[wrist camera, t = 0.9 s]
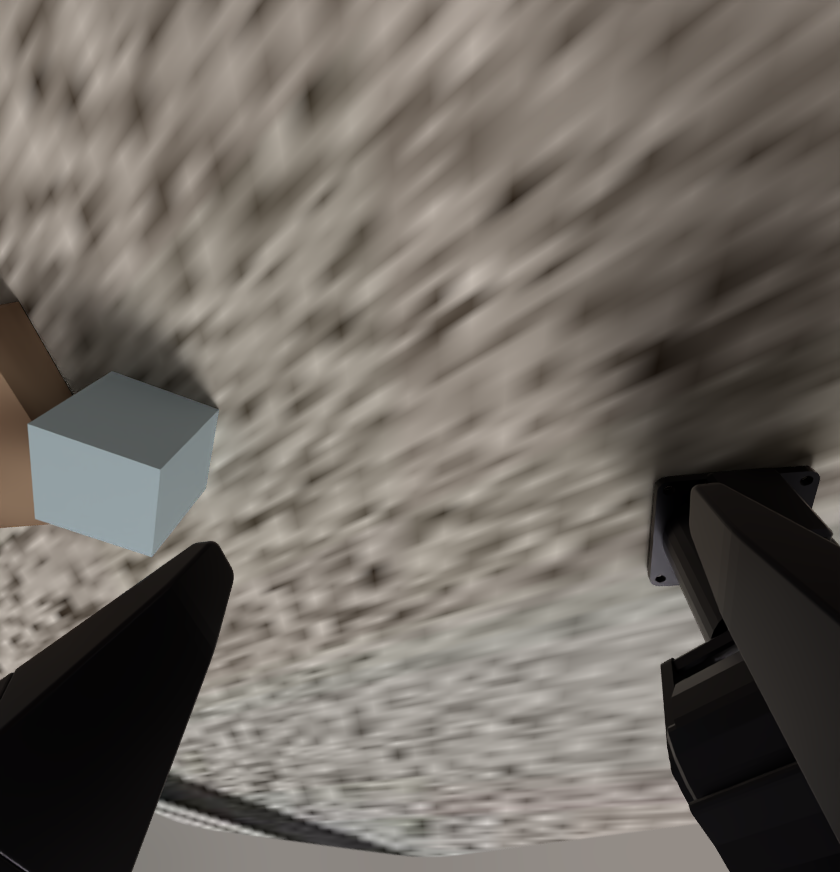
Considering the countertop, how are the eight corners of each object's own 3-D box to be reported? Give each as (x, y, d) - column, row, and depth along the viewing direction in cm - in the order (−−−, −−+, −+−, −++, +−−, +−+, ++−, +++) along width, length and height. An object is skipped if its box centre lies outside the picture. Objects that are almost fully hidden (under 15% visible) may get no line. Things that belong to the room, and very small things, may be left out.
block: (219, 408, 23) (160, 469, 19) (206, 487, 26) (151, 556, 21) (113, 370, 23) (27, 423, 18) (110, 454, 25) (34, 519, 21)
